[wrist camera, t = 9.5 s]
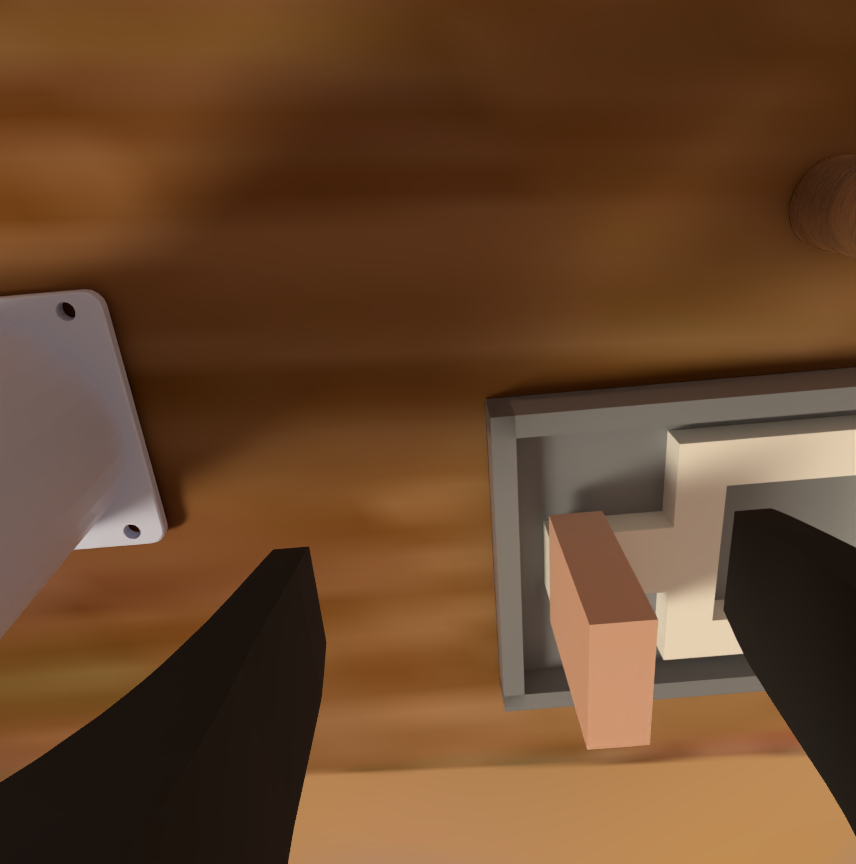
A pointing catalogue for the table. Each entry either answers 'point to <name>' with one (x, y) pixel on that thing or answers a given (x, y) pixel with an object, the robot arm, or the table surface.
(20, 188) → the table surface
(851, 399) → the tray
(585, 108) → the table surface
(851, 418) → the square frame with handle
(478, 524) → the table surface
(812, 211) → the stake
